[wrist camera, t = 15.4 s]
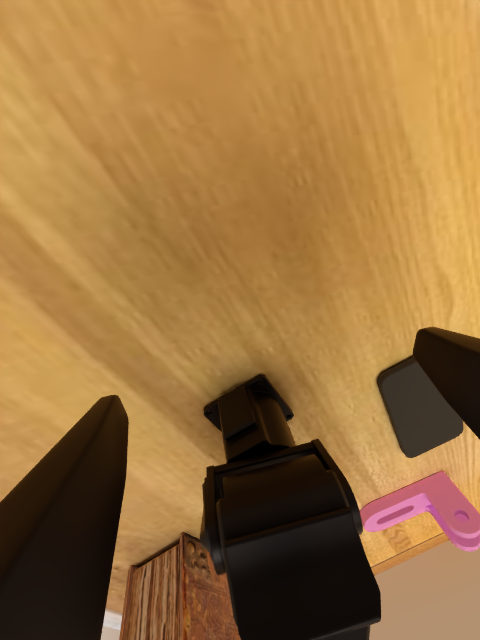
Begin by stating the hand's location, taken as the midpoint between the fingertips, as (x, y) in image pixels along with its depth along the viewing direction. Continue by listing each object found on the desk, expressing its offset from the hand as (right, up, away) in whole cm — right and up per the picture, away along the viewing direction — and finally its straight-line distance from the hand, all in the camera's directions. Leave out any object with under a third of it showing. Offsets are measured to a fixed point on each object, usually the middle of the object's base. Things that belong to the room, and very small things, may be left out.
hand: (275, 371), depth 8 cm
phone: (+19, -8, +23) cm, 30 cm away
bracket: (+22, -24, +33) cm, 46 cm away
